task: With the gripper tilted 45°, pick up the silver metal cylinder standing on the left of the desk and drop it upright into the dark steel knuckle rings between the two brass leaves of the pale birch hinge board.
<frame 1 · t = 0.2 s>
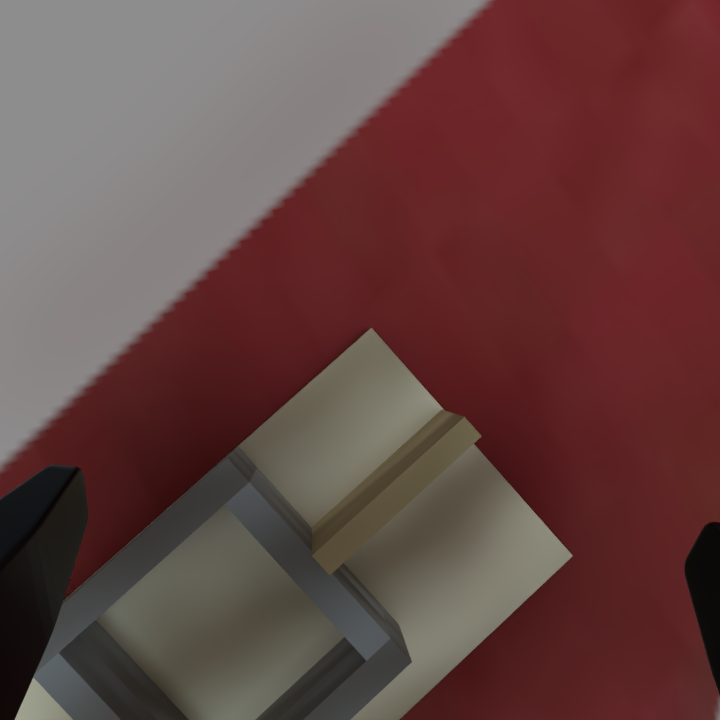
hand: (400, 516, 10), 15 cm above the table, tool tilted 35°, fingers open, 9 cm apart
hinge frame: (230, 608, 24), on the table
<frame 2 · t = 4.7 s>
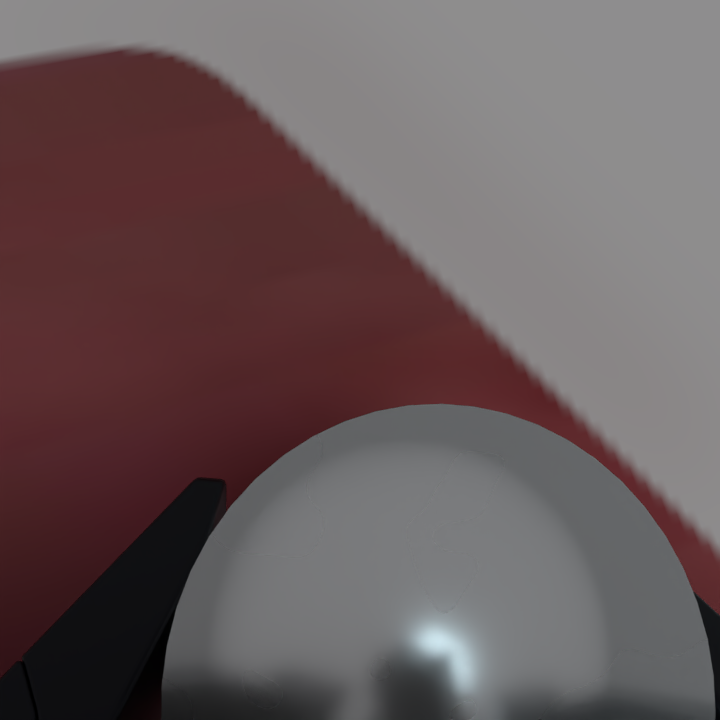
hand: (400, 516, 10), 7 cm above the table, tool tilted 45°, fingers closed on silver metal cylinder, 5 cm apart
silver metal cylinder: (350, 573, 16), on the table, touching gripper
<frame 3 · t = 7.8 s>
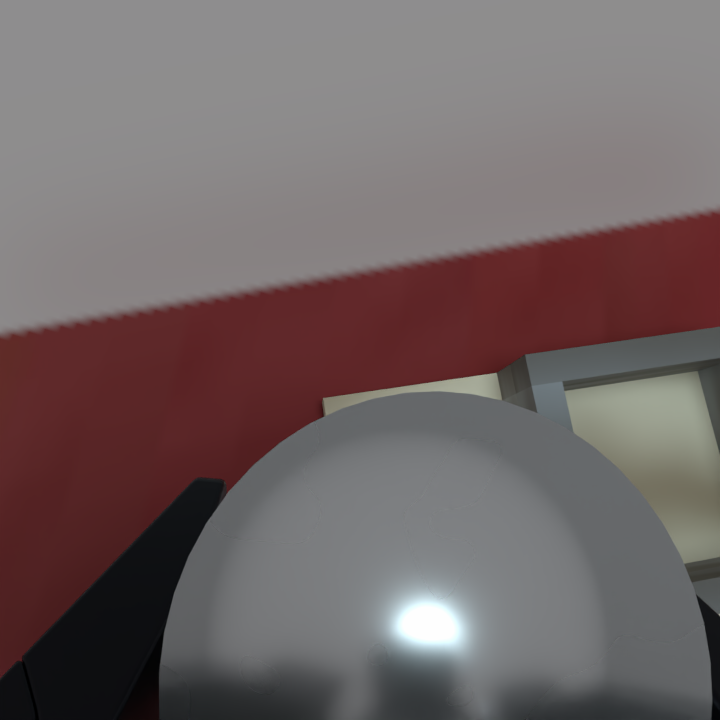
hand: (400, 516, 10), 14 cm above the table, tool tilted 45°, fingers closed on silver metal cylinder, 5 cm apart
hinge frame: (622, 474, 24), on the table
silver metal cylinder: (350, 568, 16), point 7 cm above the table, touching gripper
when the fingers open (10 cm above the table, at t = 11.1 s): silver metal cylinder drops 2 cm, resting on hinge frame.
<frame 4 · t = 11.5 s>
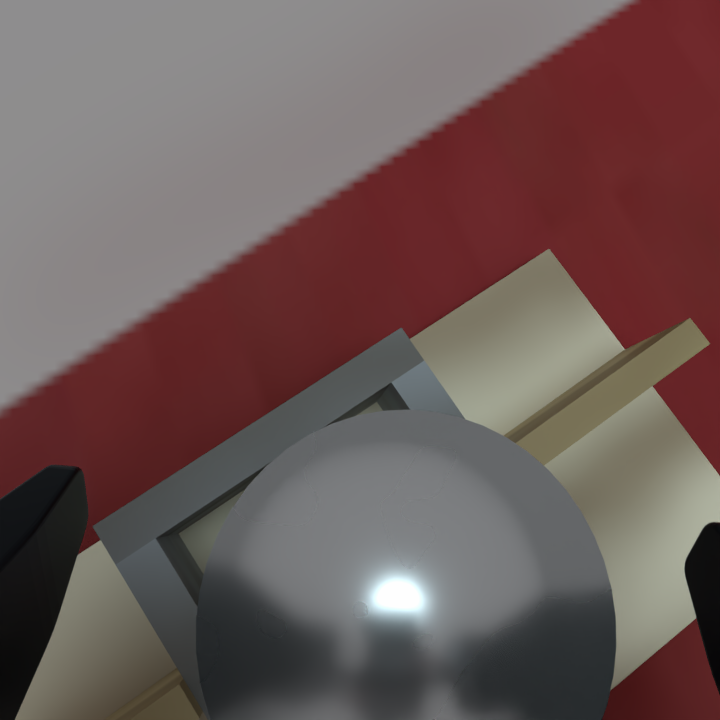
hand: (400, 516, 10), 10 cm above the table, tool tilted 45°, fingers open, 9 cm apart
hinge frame: (343, 562, 19), on the table
silver metal cylinder: (346, 563, 18), point 1 cm above the table, touching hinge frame
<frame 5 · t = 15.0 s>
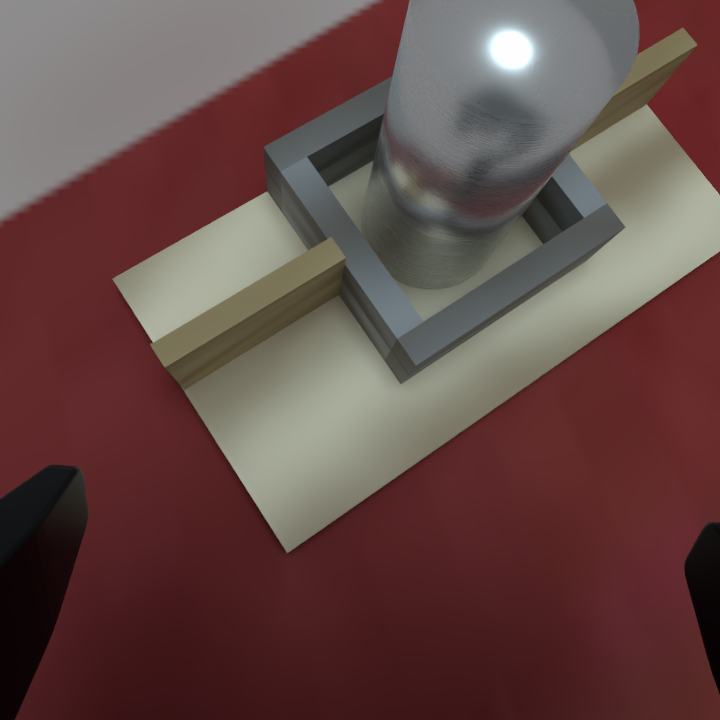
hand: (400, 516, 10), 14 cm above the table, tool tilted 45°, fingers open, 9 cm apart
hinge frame: (423, 237, 25), on the table
silver metal cylinder: (428, 224, 24), point 1 cm above the table, touching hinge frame
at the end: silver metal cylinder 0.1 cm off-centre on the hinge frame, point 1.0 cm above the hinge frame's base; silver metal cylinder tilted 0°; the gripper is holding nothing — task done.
